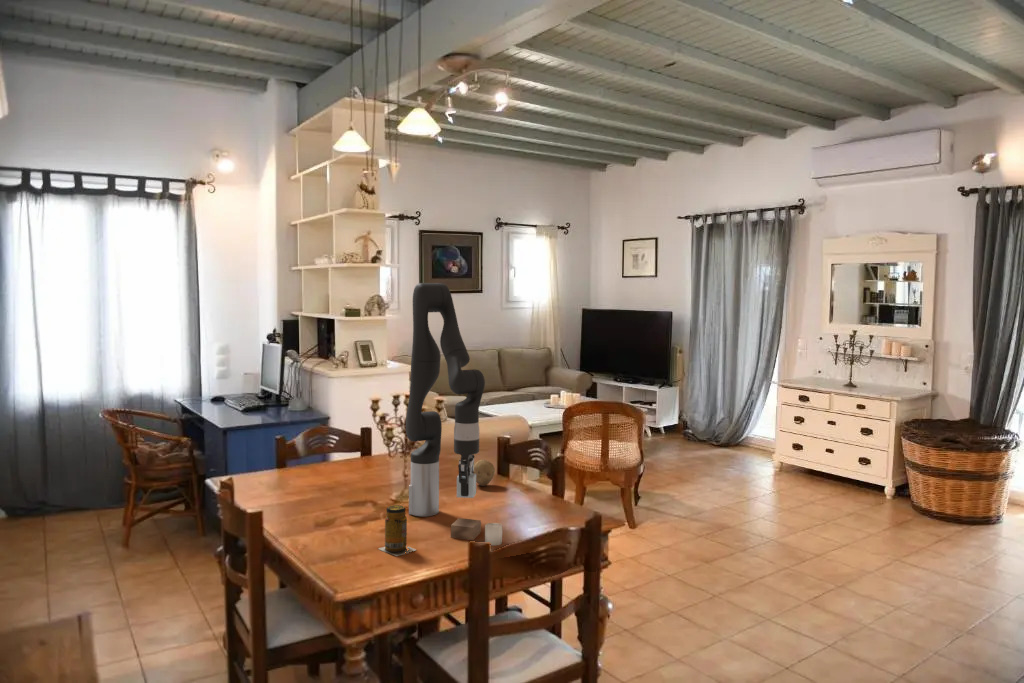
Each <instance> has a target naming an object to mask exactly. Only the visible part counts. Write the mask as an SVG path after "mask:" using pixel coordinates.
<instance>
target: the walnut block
mask: <svg viewBox="0 0 1024 683" xmlns="http://www.w3.org/2000/svg"><path fill="white" fill-rule="evenodd" d="M481 523H482V520H481V519H480V520H479V519H472V518H461V517H458V518H457V519H456V520H455V521H454V522H453V523H452V524H451V525H450V538H452V539H458V540H459V539H460V540H468V541H474V540H475V539H476V538H477V537H478V536H479V535H480V534H481V532H482V530H481V529H482V526H481V525H482V524H481Z"/></svg>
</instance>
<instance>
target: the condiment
mask: <svg viewBox="0 0 1024 683" xmlns="http://www.w3.org/2000/svg"><path fill="white" fill-rule="evenodd" d="M407 522H408V519H407V516H406V506H404V505H398V504H396V505H390V506H387V508H386V516H385V519H384V546H382V547H379V548H377V549H378V550H379V551H382V552H384V553H387V554H390V555H392V556H395V557H398V556H402V555H406V554H410V553H411V552H412V551H413V552H414V551H417V549H416V548H413V547H411V546H408V547H407V548H408V549H409V550H408V551H407V550H406V546H407V541H408V540H407V539H408V538H407V535H408V533H407V531H408V527H407V526H408V523H407ZM405 550H406V551H405ZM405 552H406V554H405ZM409 552H410V553H409ZM413 552H412V553H413Z"/></svg>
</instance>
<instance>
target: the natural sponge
mask: <svg viewBox="0 0 1024 683" xmlns="http://www.w3.org/2000/svg"><path fill="white" fill-rule="evenodd" d="M495 471H496V470H495V465H493V463H492V462H491V461H490V460H486V459H479V460H477V461H476V462H474V474H476V484H478V485H479V486H481V487H486V486H487V485H489V483H490V482H491V481H492V480H493V479H494V476H495Z"/></svg>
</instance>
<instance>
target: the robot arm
mask: <svg viewBox="0 0 1024 683" xmlns="http://www.w3.org/2000/svg"><path fill="white" fill-rule="evenodd" d="M452 296H453V295H452V293H451V290H450V288H449V287H448V285H446V284H445V283H443V282H419V283H417V284H416V285H415V286H414V288H413V293H412V326H413V327H412V329H413V330H412V331H413V333H412V348H411V356H410V357H411V360H410V384H409V385H410V386H409V395H408V396H409V397H408V403H407V410H406V417H405V418H406V419H405V433H406V437H407V439H408V440H409V442H423V441H424V443H423V444H422V445H421V446H419V447H418V448H416V449H414V450H412V451H411V453H410V484H409V485H408V515H413V516H416V517H432V516H435V515H438V514H439V512H440V510H439V509H440V455H441V446H442V445H441V444H442V431H443V430H442V428H443V426H442V425H443V424H442V418H441V416H440V414H439V413H438V412H437V411H432V410H431V411H422V410H423V405H424V402H425V399H426V397H427V395H428V394H429V392H431V390H432V388H433V386H434V385H435V383H436V382H437V380H438V378H439V376H440V371H441V357H442V355H443V357H444V360H445V362H446V367H447V375H448V376H447V377H448V386H449V389H450V390H451V391H452V392H453V393H454V395H455V394H456V395H466V394H467V395H466V397H465V398H464V399H463V400H461V401H458V402H457V403H456V404H455V406H454V427H453V452H454V453H455V454H456V455H460V456H461V457H460V459H458V465H457V468H458V475H459V483H460V484H461V496H468V495H469V476H471V474H474V464H475V455H476V454H477V455H478V454H479V453H480V425H479V424H480V423H479V422H480V421H479V420H480V419H479V411H480V410H479V409H480V405H481V402H482V398H483V393H484V390H485V386H486V384H485V383H486V380H485V376H484V374H483V373H482V371H480V369H474V368H473V369H462V368H464V367H466V366H467V365H468V364H469V363H470V358H471V357H470V355H469V352H468V349H467V347H466V345H465V343H464V340H463V337H462V334H461V331H460V328H459V323H458V318H457V314H456V309H455V304H454V301H453V297H452ZM429 313H440V315H441V318H442V320H443V326H442V331H441V334H440V338H439V342H440V349H441V351H440V349H439V345H438V344H437V342H436V340H435V339H434V336H433V335H432V333H431V331H430V326H429ZM441 352H442V355H441ZM463 476H465V477H466V479H462V478H463Z"/></svg>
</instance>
